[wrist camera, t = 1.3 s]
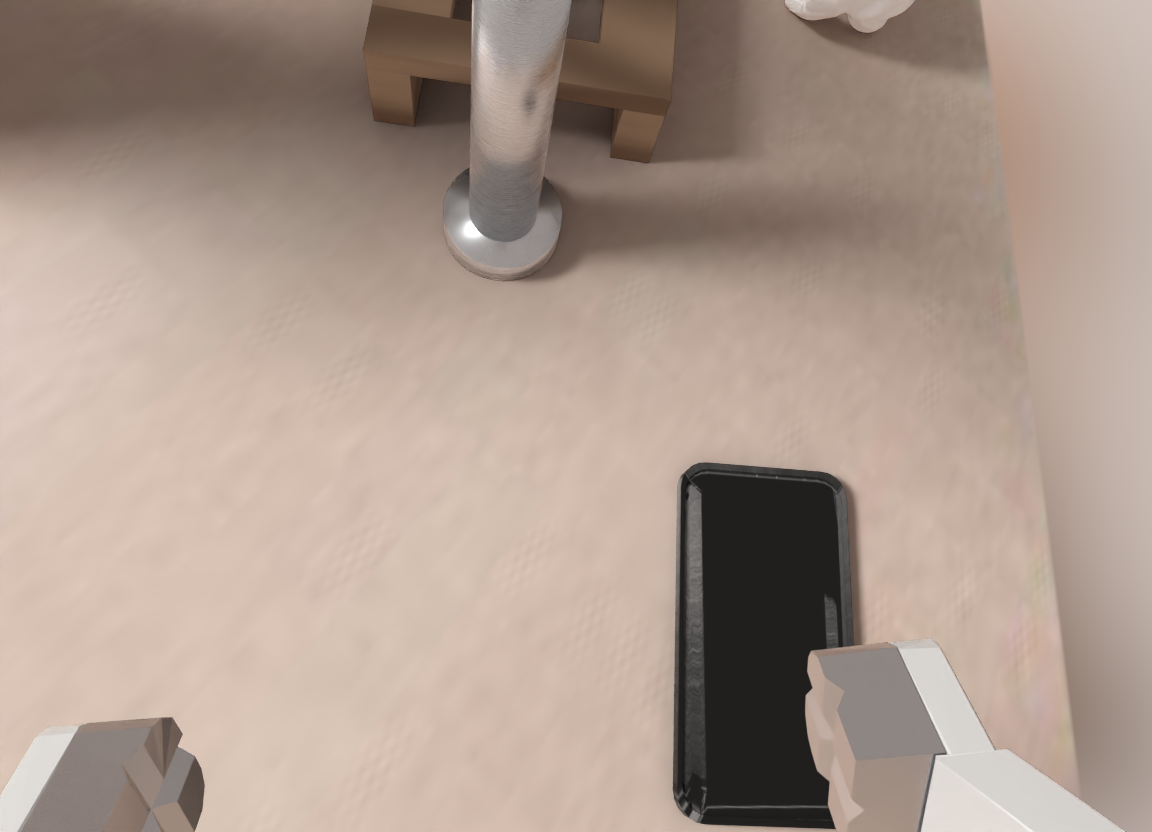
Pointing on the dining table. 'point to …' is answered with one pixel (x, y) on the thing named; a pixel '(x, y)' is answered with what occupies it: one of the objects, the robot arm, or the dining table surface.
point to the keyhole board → (588, 71)
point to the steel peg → (509, 141)
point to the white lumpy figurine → (851, 11)
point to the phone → (754, 639)
